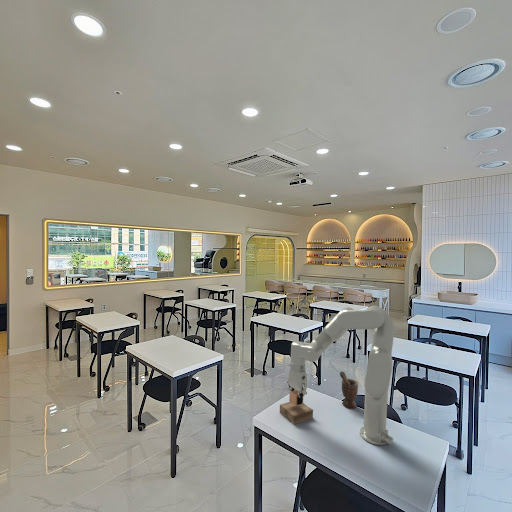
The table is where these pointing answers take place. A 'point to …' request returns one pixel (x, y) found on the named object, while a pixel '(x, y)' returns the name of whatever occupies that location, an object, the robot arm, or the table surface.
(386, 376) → the robot arm
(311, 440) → the table surface
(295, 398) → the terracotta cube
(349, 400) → the mortar and pestle
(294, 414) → the walnut base
